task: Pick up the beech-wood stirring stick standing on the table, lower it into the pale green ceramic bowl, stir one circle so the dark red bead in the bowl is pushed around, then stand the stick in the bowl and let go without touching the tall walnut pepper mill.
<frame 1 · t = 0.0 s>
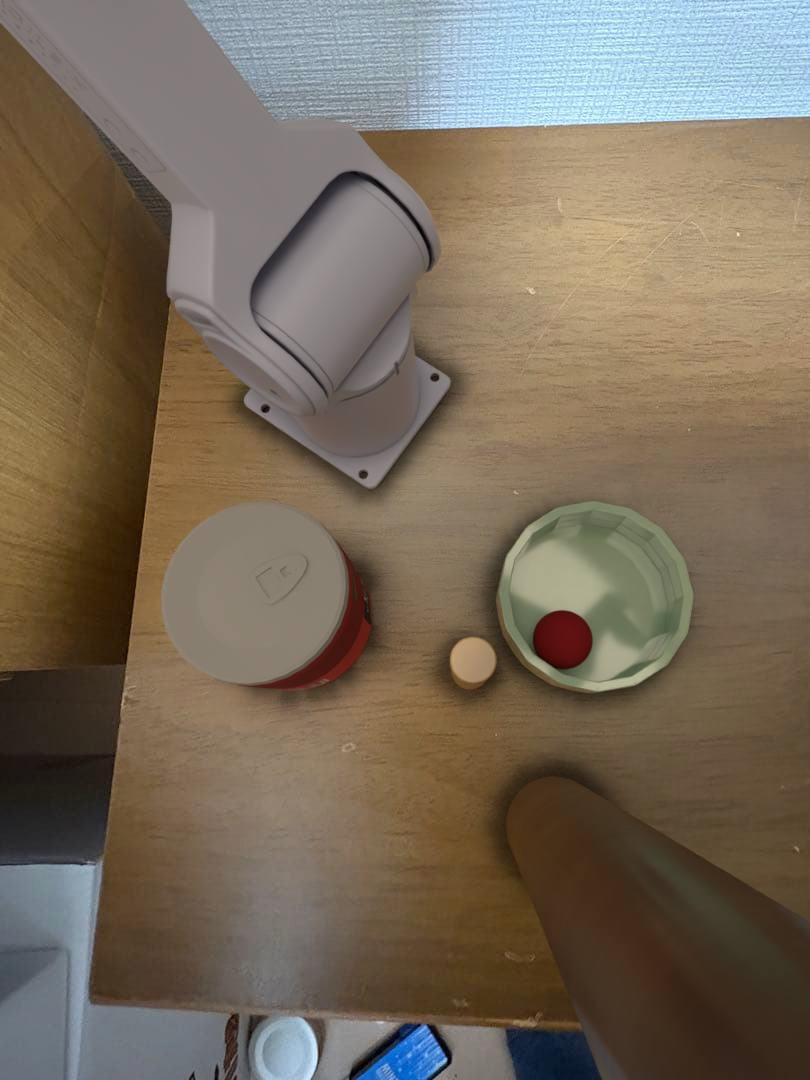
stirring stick: (469, 670, 42), on the table
bead: (562, 639, 40), point 2 cm above the table, touching bowl
pepper mill: (555, 827, 40), on the table
canned food: (303, 620, 43), on the table
bowl: (584, 603, 42), on the table
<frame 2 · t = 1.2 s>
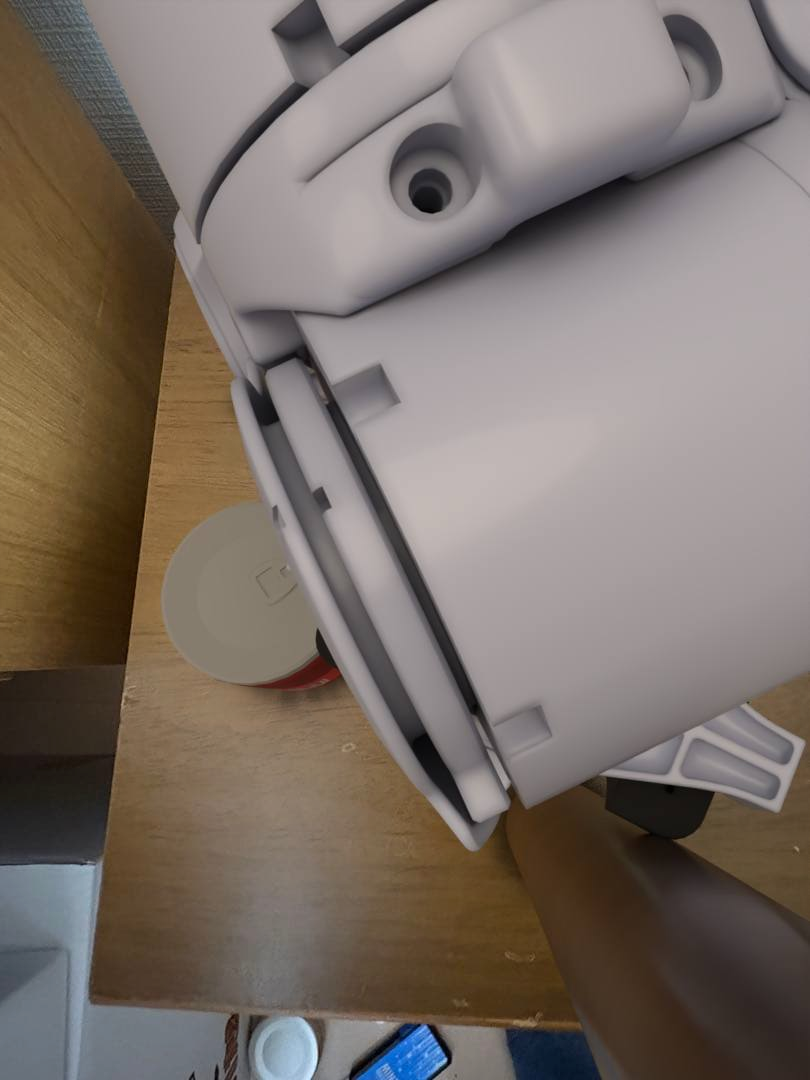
hand: (516, 684, 30), 12 cm above the table, tool pointing down, fingers open, 7 cm apart
nothing on the table moved.
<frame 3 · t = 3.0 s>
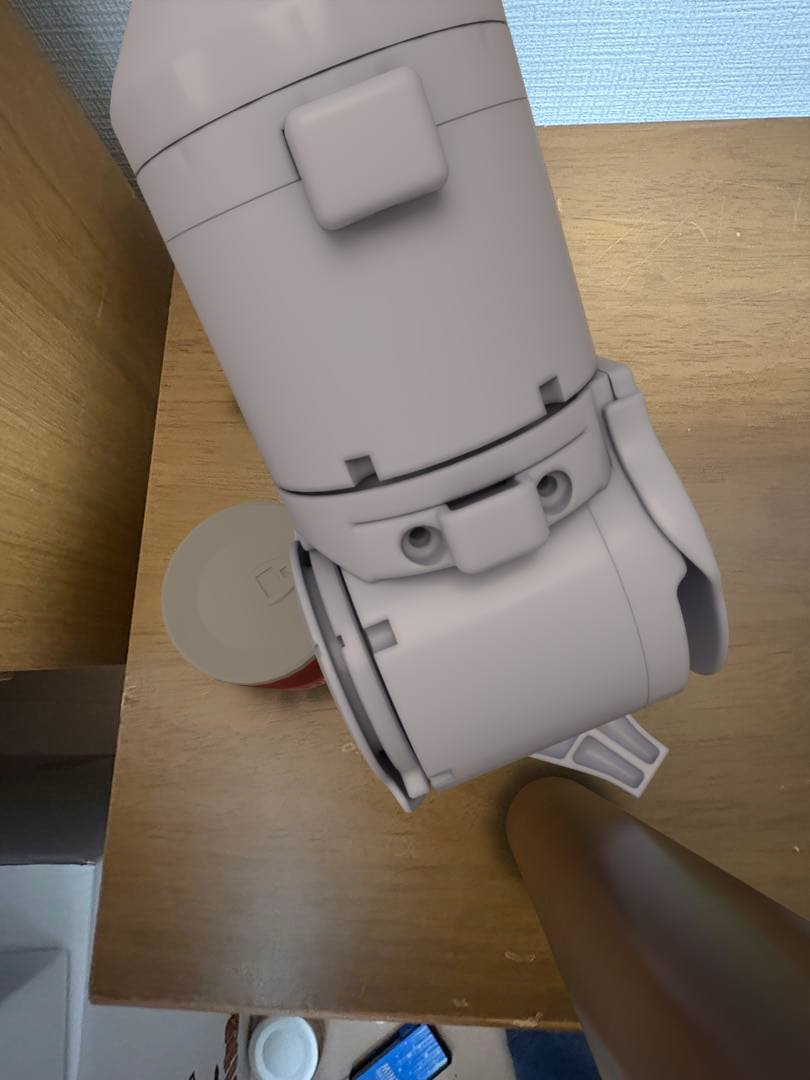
hand: (471, 664, 37), 5 cm above the table, tool pointing down, fingers closed on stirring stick, 2 cm apart
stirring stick: (469, 670, 42), on the table, touching gripper
everything else where it was.
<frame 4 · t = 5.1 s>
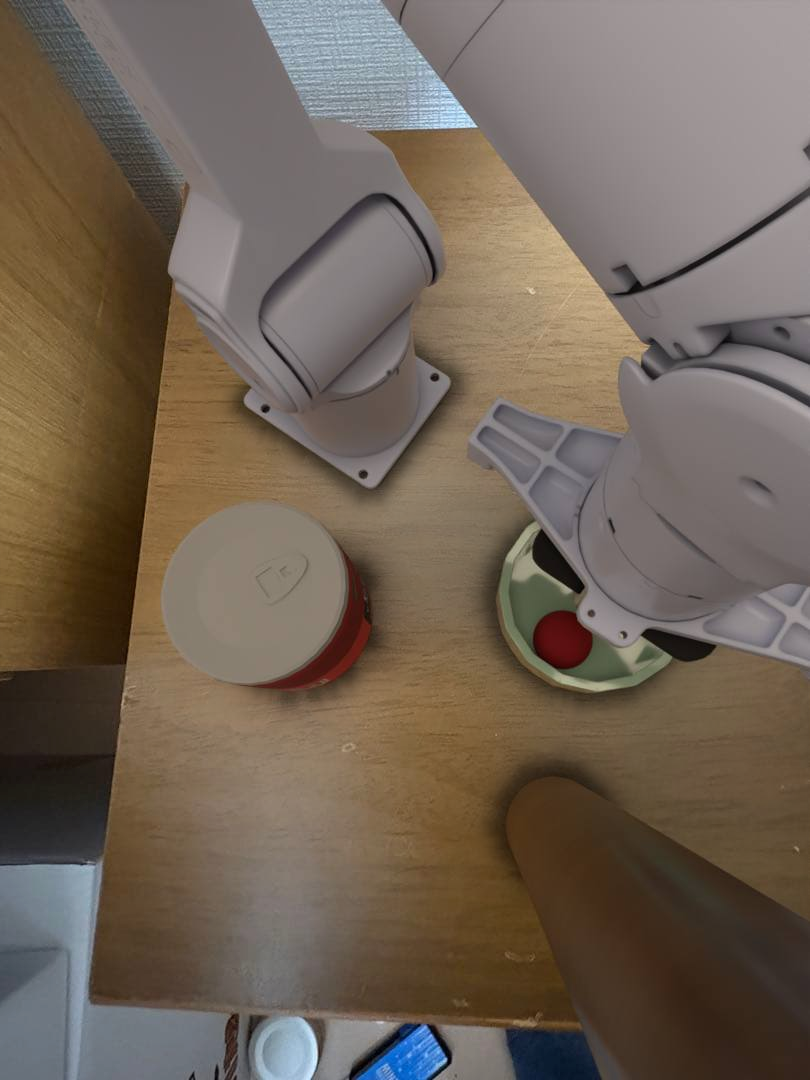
hand: (613, 579, 35), 8 cm above the table, tool pointing down, fingers closed on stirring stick
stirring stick: (592, 597, 40), point 3 cm above the table, touching gripper
everything else where it was.
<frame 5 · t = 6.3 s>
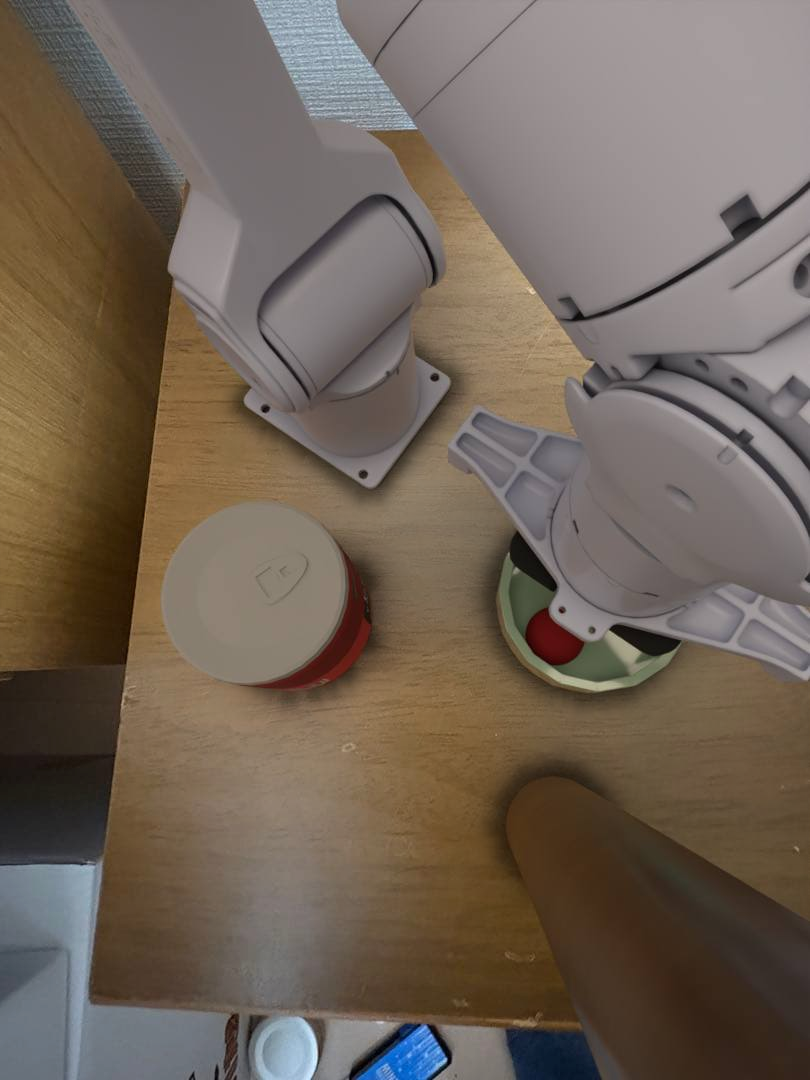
hand: (590, 578, 36), 6 cm above the table, tool pointing down, fingers closed on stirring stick, 2 cm apart
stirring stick: (581, 588, 42), point 1 cm above the table, touching gripper
everything else where it was.
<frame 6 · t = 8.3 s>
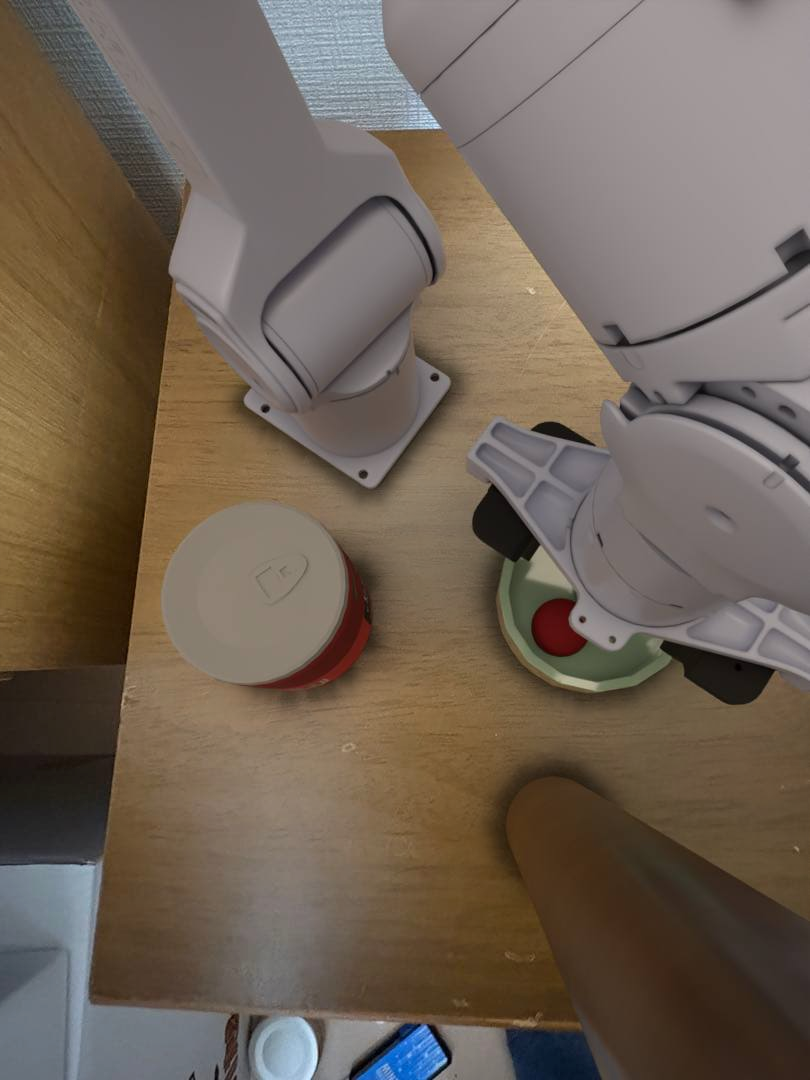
hand: (605, 585, 36), 6 cm above the table, tool pointing down, fingers open, 7 cm apart
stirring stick: (593, 594, 42), resting on bowl
bead: (560, 627, 40), point 2 cm above the table, tilted 18°, touching bowl
everything else where it was.
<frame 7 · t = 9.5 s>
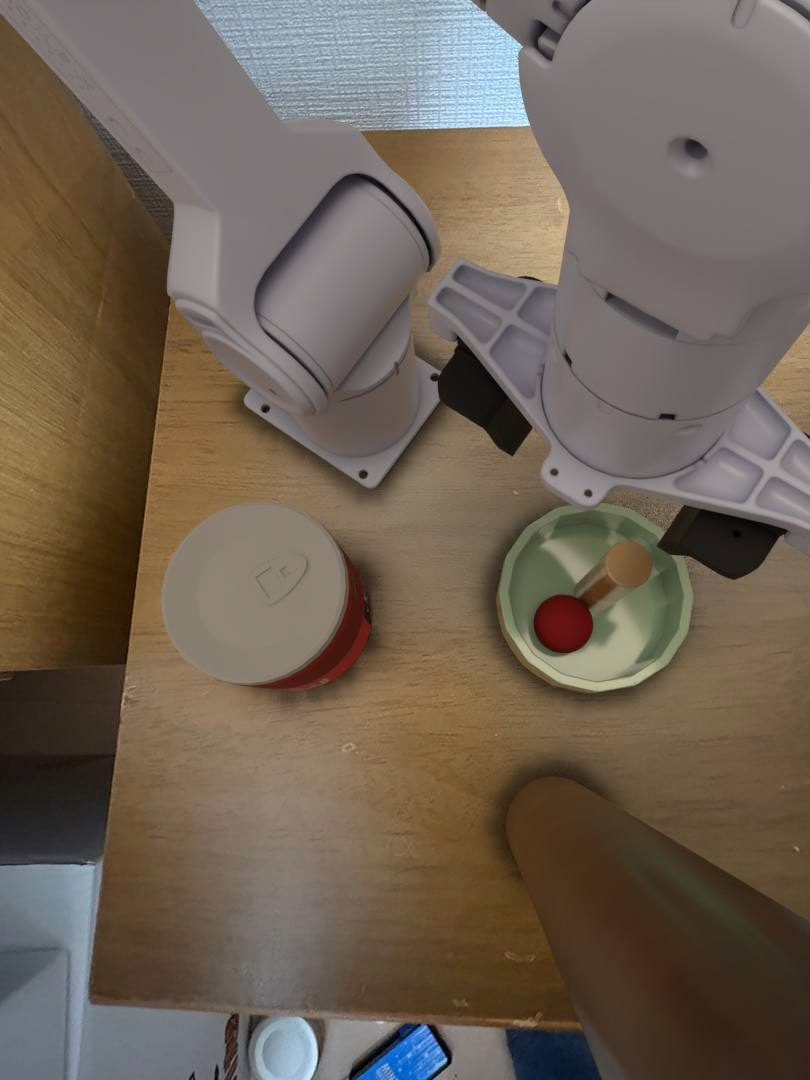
hand: (595, 481, 33), 10 cm above the table, tool pointing down, fingers open, 7 cm apart
bead: (563, 623, 40), point 2 cm above the table, tilted 27°, touching bowl
everything else where it was.
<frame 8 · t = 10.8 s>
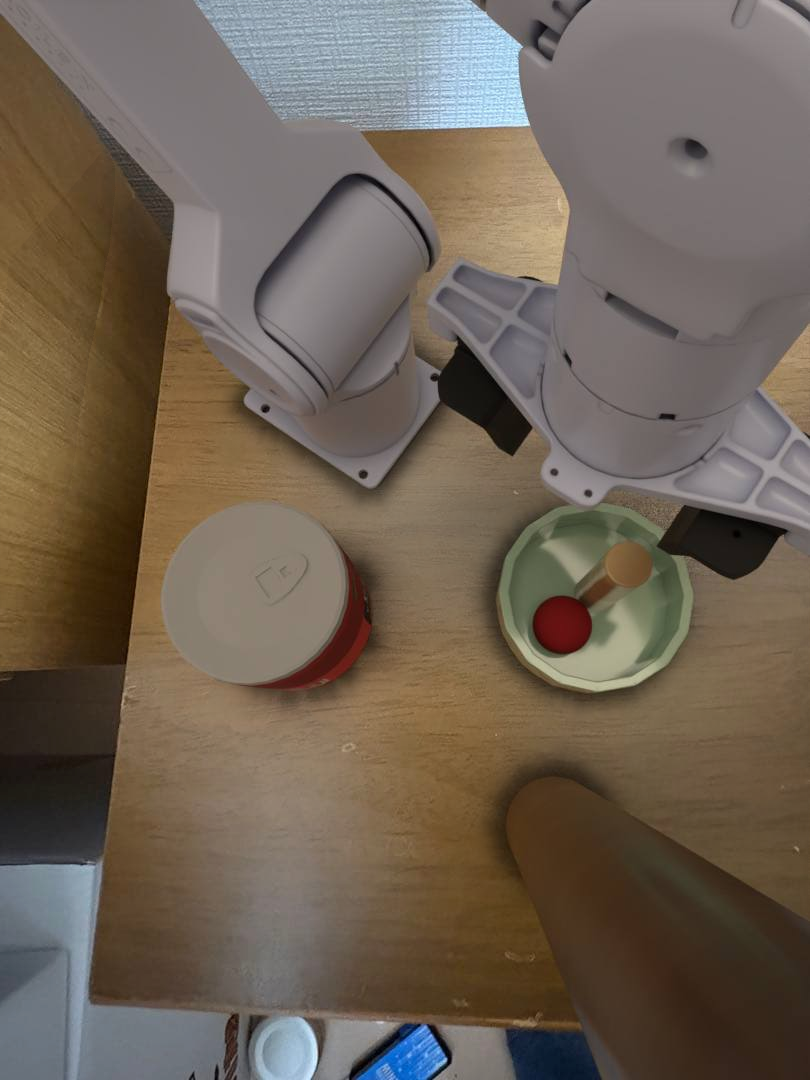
hand: (595, 481, 33), 10 cm above the table, tool pointing down, fingers open, 7 cm apart
nothing on the table moved.
at the end: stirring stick 0.6 cm off-centre in the bowl, point 0.5 cm above the bowl's base; bead moved 0.8 cm from its start; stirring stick touching bowl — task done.
